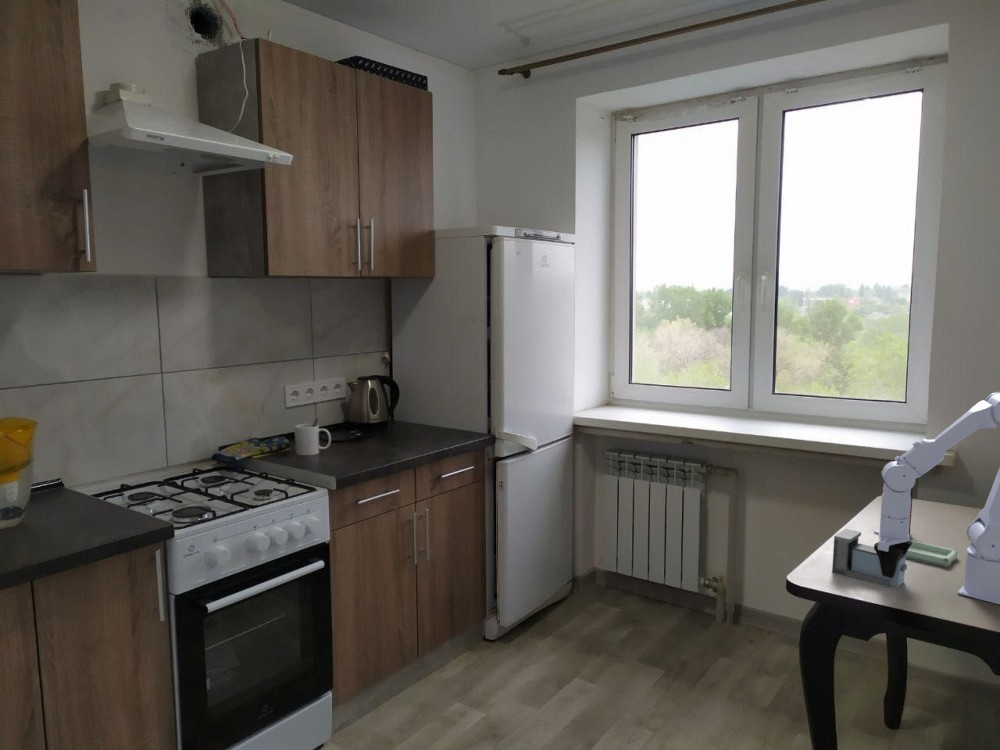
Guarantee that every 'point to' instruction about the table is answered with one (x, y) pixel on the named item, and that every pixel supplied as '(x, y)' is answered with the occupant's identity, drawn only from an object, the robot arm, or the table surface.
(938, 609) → the table surface
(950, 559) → the tray
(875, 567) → the pale blue block
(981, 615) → the table surface
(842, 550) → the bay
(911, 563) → the table surface
